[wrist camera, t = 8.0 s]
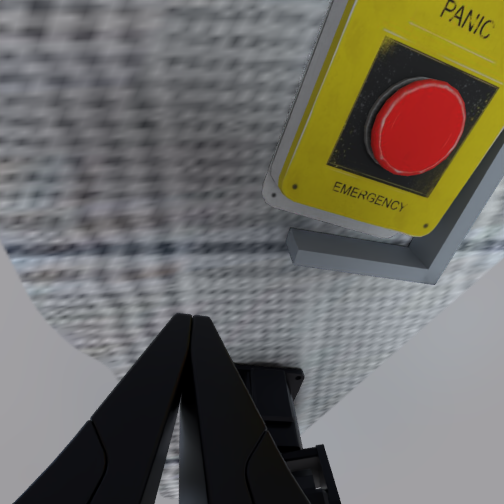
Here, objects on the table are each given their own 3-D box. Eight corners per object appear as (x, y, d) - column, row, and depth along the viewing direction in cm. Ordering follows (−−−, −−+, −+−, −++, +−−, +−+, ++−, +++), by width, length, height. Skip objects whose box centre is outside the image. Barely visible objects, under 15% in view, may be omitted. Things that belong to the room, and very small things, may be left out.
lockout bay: (421, 263, 23) (453, 298, 19) (285, 241, 21) (297, 277, 18) (656, -143, 13) (794, -201, 10) (439, -245, 11) (525, -355, 8)
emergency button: (263, 235, 16) (460, -250, 9) (255, 198, 20) (389, -164, 12) (424, 277, 18) (687, -81, 11) (389, 237, 22) (569, -52, 15)
